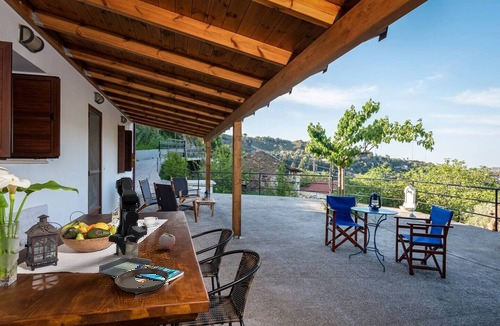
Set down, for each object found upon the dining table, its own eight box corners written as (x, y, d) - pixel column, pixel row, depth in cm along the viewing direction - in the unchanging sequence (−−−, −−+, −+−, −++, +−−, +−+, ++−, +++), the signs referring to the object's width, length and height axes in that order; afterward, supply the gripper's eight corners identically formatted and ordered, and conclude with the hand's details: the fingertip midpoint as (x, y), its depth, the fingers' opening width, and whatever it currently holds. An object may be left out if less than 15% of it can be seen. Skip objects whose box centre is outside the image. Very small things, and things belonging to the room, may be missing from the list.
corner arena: (98, 272, 136) (99, 265, 137) (128, 261, 152) (128, 255, 152) (124, 278, 131) (124, 271, 131) (151, 266, 146) (151, 260, 146)
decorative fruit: (155, 250, 173) (155, 232, 173) (164, 246, 181) (164, 229, 181) (168, 252, 170) (169, 234, 170) (177, 248, 177) (178, 231, 177)
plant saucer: (167, 293, 117) (167, 285, 117) (109, 297, 112) (109, 288, 112) (170, 274, 137) (170, 267, 137) (121, 276, 133) (121, 269, 133)
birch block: (129, 258, 140) (130, 245, 140) (118, 256, 143) (118, 243, 143) (137, 255, 145) (138, 242, 145) (126, 253, 147) (127, 240, 147)
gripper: (126, 225, 132) (125, 261, 132) (156, 218, 149) (155, 250, 149) (107, 222, 136) (107, 257, 136) (138, 216, 153) (137, 247, 153)
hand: (128, 253), depth 144 cm, fingers closed on birch block, 5 cm apart
